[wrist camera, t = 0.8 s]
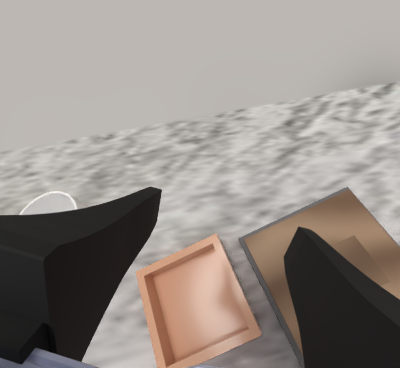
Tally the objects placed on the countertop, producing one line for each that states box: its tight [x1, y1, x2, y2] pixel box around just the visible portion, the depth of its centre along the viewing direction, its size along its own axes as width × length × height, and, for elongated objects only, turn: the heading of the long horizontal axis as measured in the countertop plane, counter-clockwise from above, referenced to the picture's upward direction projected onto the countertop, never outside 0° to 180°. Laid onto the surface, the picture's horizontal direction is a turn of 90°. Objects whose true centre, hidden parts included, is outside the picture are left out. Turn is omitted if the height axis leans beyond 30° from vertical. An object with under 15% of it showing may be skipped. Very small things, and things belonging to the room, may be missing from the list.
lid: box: [244, 190, 400, 355], centre depth 20 cm, size 13×13×5 cm
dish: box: [136, 234, 262, 368], centre depth 23 cm, size 10×10×3 cm
